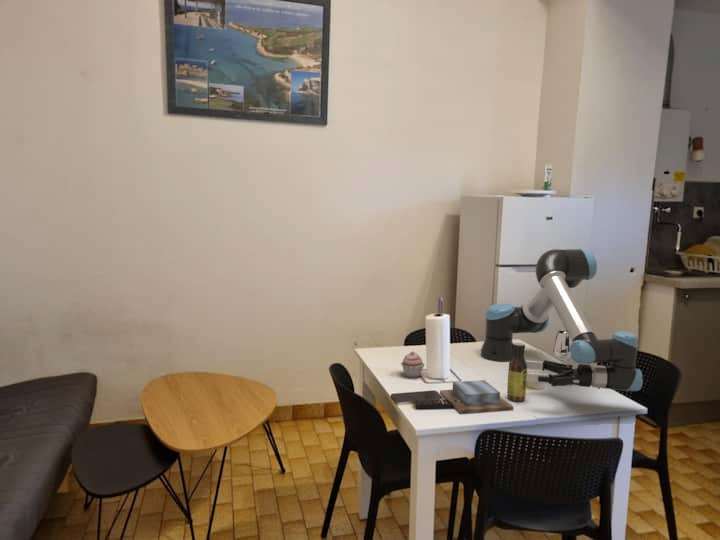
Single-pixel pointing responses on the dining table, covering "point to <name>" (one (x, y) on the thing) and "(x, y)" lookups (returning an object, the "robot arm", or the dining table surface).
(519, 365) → the sauce bottle
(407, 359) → the cupcake
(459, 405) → the base
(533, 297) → the robot arm
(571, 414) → the dining table surface
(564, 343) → the wineglass
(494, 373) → the dining table surface
